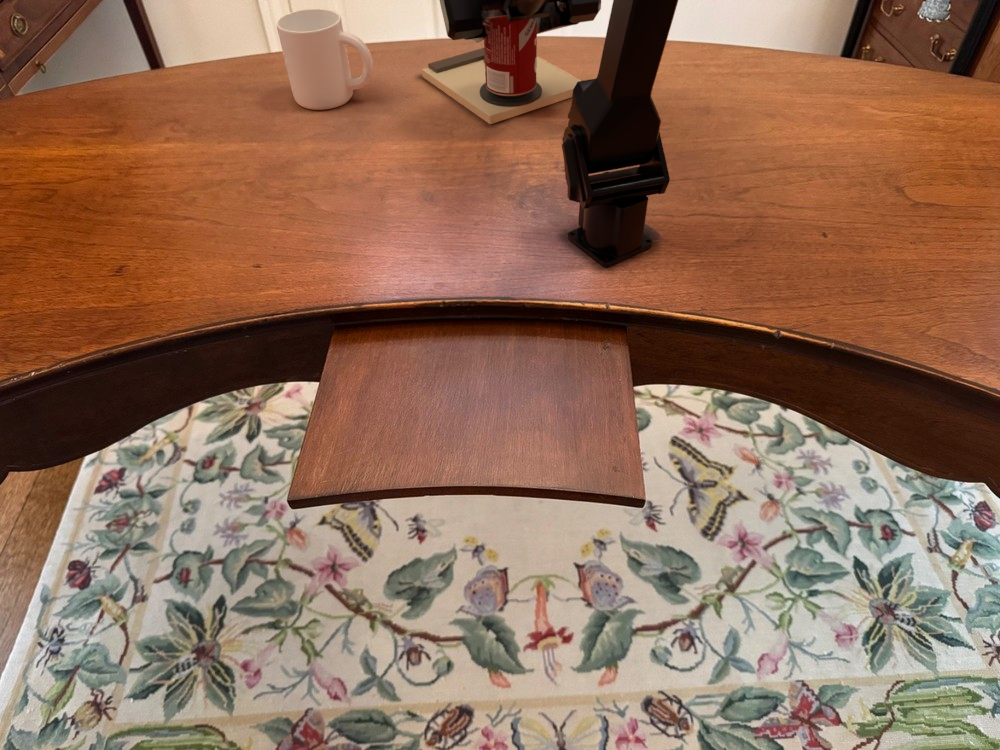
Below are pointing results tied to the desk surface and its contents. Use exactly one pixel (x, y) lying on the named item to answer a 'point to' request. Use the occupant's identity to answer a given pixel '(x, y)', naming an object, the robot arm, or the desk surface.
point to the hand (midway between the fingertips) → (506, 34)
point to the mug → (320, 58)
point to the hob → (468, 88)
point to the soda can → (510, 56)
